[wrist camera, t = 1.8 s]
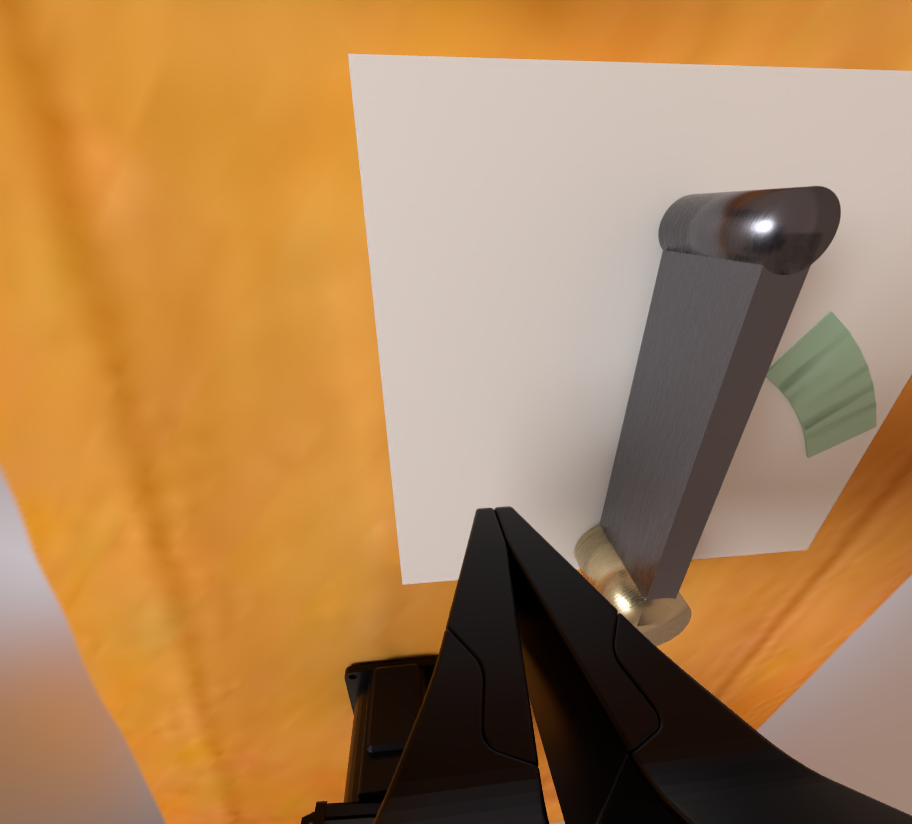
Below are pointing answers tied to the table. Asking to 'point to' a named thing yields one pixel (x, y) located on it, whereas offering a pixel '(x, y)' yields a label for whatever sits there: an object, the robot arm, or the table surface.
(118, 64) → the table surface
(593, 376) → the dial board
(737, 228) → the pointer
